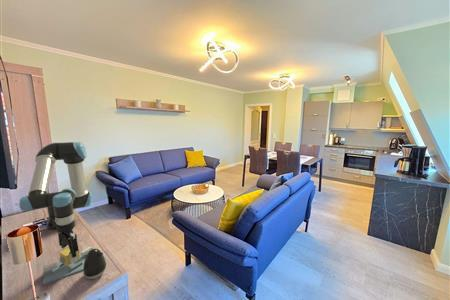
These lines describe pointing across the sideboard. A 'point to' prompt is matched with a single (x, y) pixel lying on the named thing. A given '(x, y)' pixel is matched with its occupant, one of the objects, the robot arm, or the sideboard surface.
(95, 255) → the dark grey dome
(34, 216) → the sideboard surface
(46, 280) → the shaft rig
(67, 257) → the coupler
